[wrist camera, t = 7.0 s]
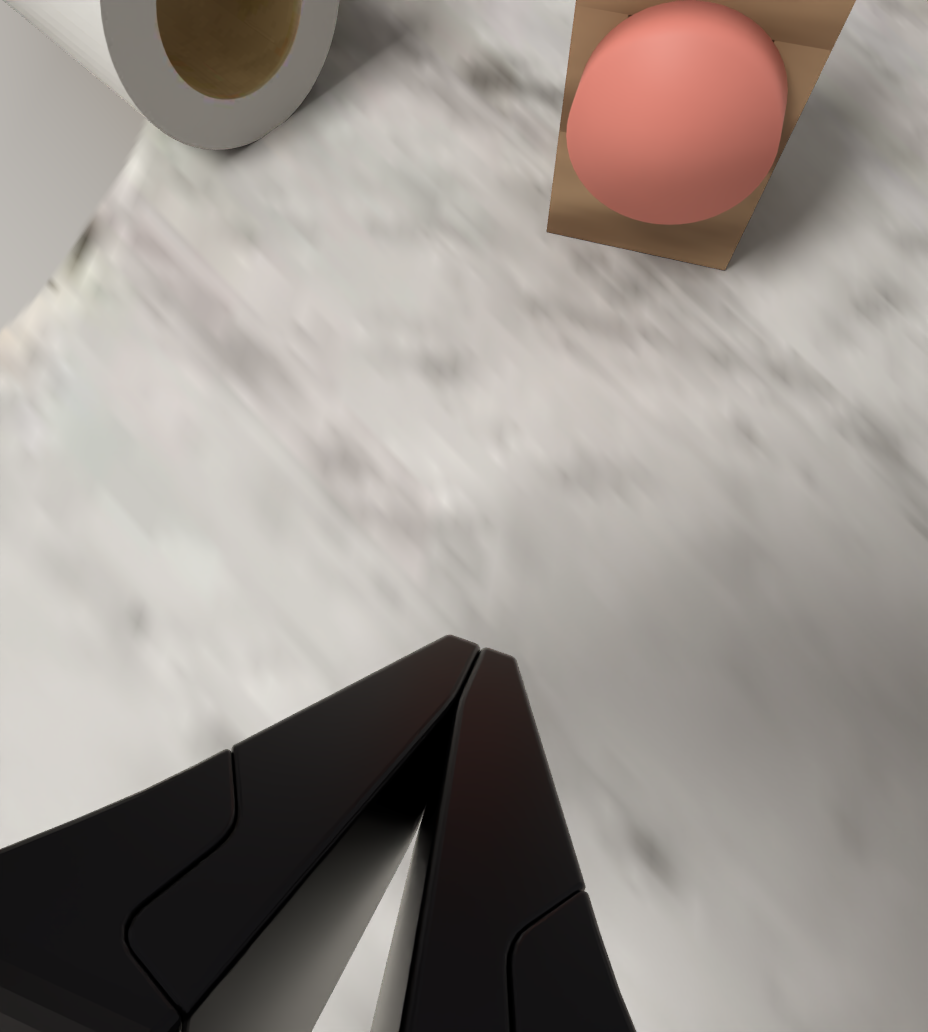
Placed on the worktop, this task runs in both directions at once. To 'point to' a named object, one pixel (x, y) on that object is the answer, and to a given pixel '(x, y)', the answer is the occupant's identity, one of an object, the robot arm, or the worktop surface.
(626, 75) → the knob
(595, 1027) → the robot arm
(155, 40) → the toilet paper
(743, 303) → the worktop surface
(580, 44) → the catch block
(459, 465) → the worktop surface
